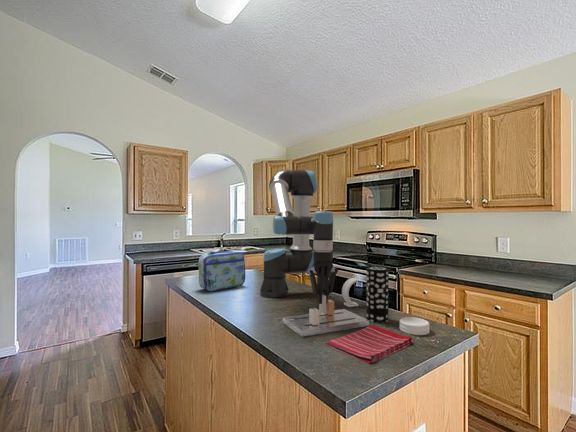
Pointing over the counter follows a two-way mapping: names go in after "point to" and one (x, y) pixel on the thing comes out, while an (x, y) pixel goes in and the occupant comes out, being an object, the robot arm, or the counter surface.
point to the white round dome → (414, 326)
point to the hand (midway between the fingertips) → (322, 311)
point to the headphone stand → (346, 292)
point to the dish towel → (370, 343)
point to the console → (325, 322)
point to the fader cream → (314, 316)
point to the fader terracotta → (330, 307)
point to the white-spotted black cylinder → (377, 294)
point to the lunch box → (221, 270)
